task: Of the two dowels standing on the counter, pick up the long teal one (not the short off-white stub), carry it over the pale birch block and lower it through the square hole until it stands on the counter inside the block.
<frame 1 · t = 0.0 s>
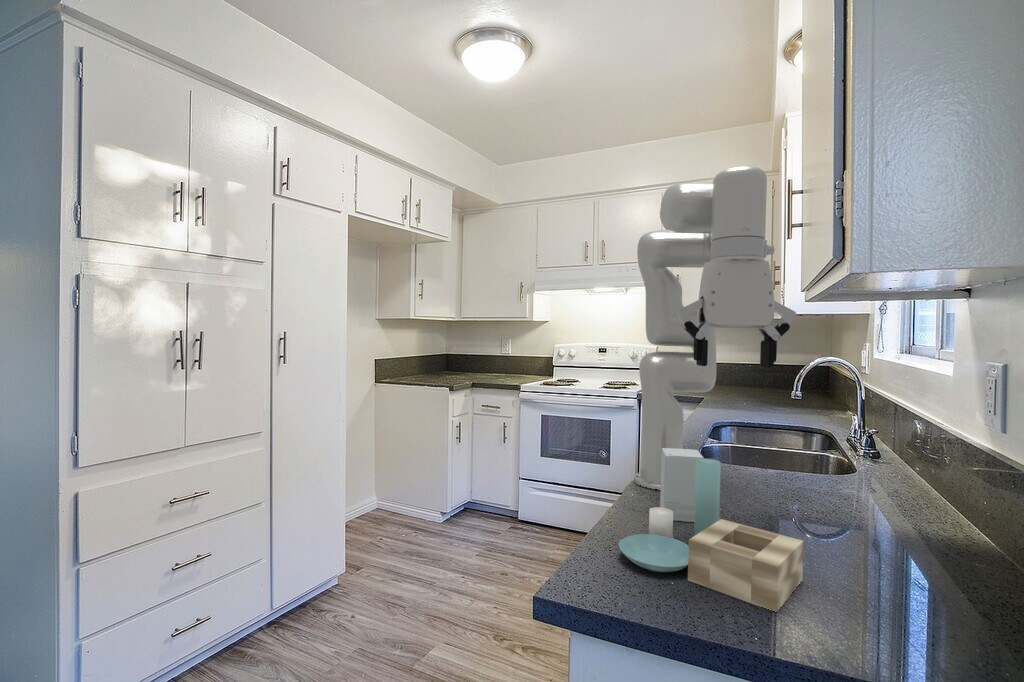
hand: (734, 366, 78), 31 cm above the countertop, tool pointing down, fingers open, 9 cm apart
short off-white stub: (660, 539, 90), on the countertop
supplement box: (680, 516, 102), on the countertop
birch hole block: (745, 580, 75), on the countertop
saucer: (656, 564, 81), on the countertop
teal dowel: (706, 541, 89), on the countertop
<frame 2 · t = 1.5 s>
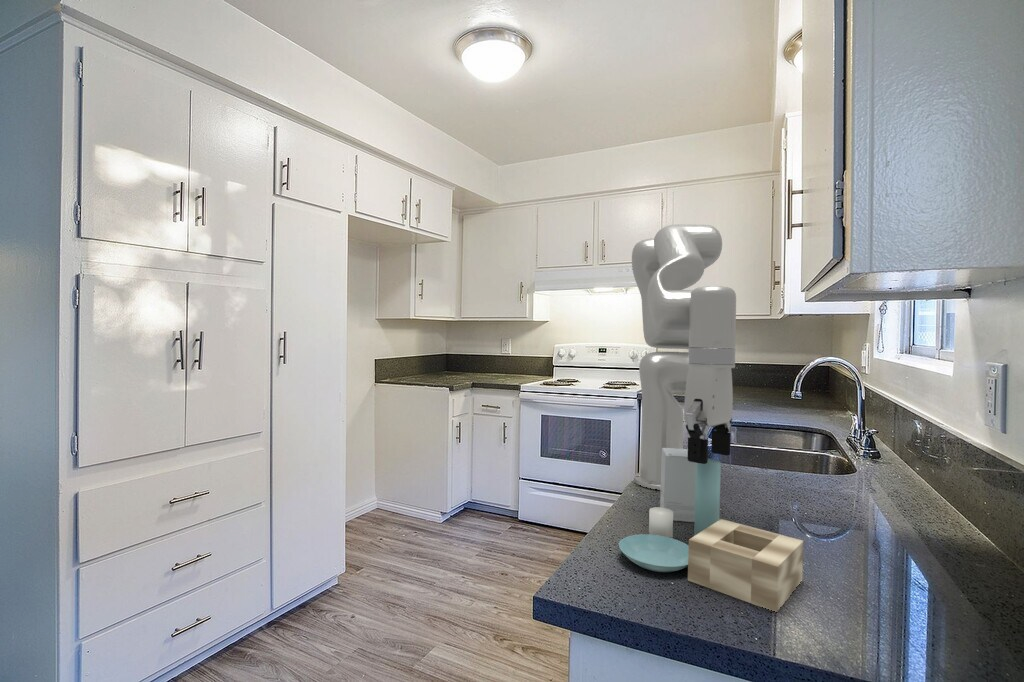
hand: (709, 458, 88), 15 cm above the countertop, tool pointing down, fingers open, 9 cm apart
nothing on the countertop moved.
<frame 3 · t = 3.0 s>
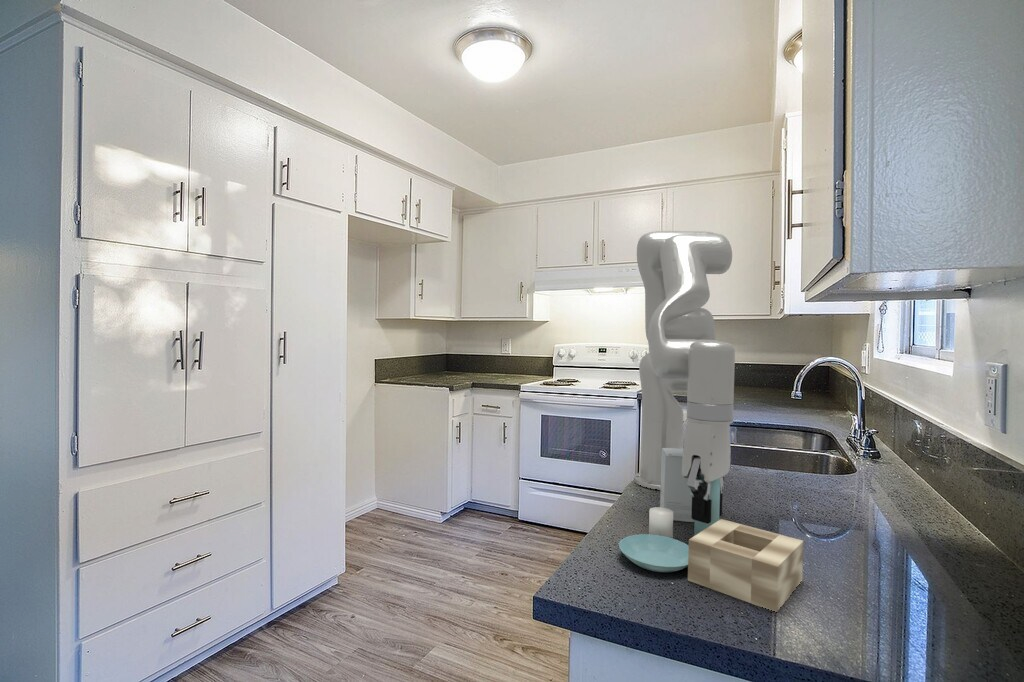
hand: (706, 516, 89), 4 cm above the countertop, tool pointing down, fingers closed on teal dowel, 4 cm apart
teal dowel: (706, 541, 89), on the countertop, touching gripper
everything else where it was.
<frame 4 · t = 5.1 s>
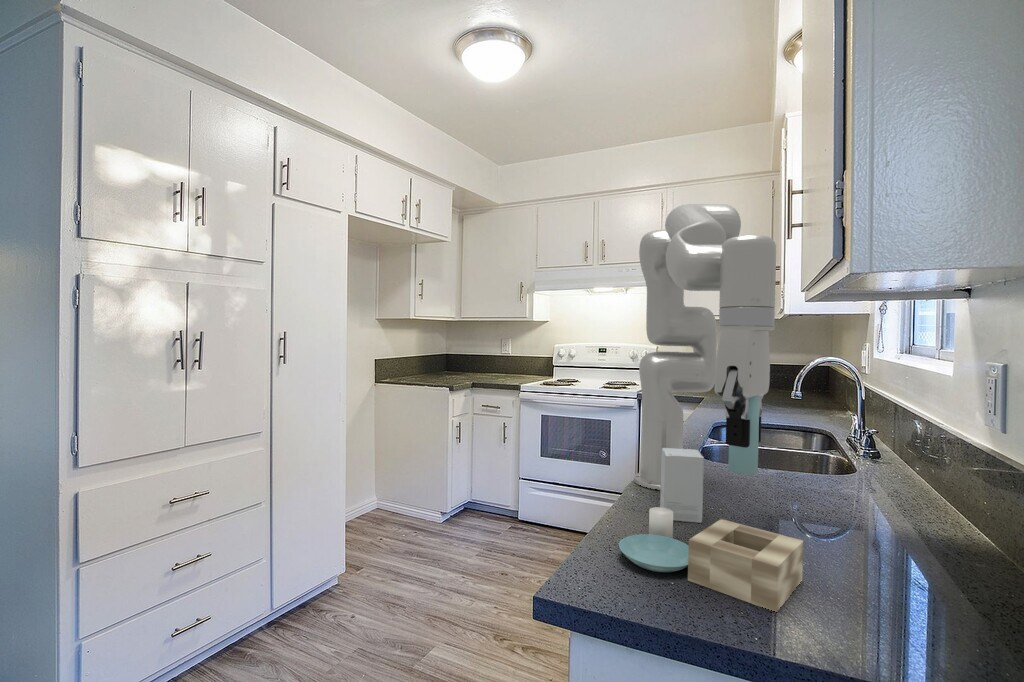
hand: (743, 442, 76), 20 cm above the countertop, tool pointing down, fingers closed on teal dowel, 4 cm apart
teal dowel: (742, 471, 77), point 16 cm above the countertop, touching gripper
everything else where it was.
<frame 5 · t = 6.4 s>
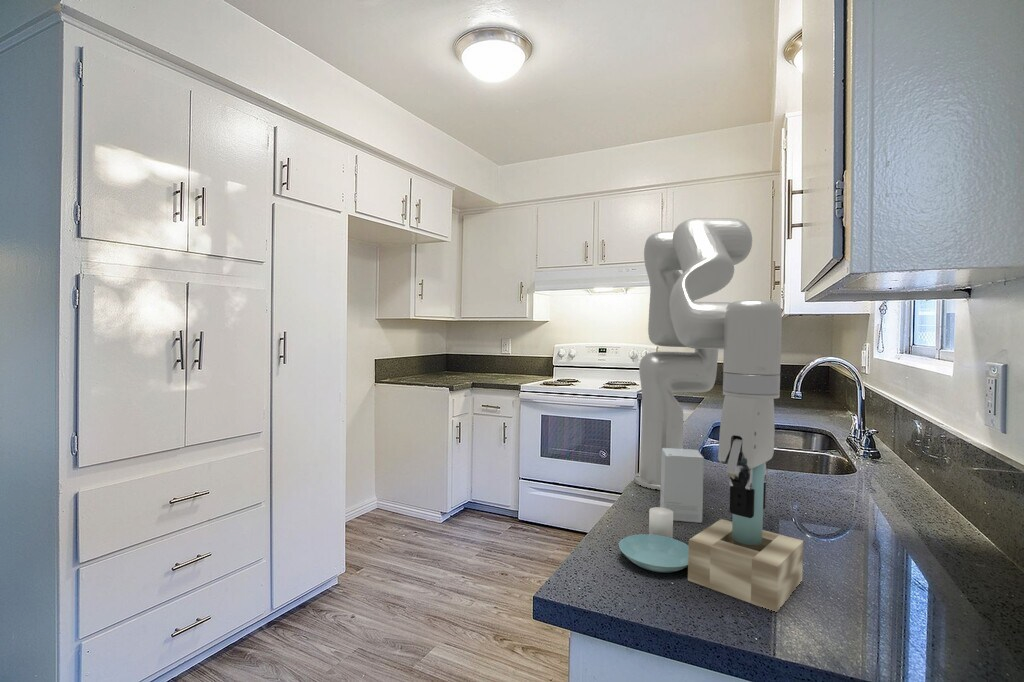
hand: (747, 510, 75), 10 cm above the countertop, tool pointing down, fingers closed on teal dowel, 4 cm apart
teal dowel: (746, 539, 75), point 6 cm above the countertop, touching gripper
everything else where it was.
when the fingers open (7 cm above the countertop, at t = 7.3 s): teal dowel drops 3 cm, resting in birch hole block.
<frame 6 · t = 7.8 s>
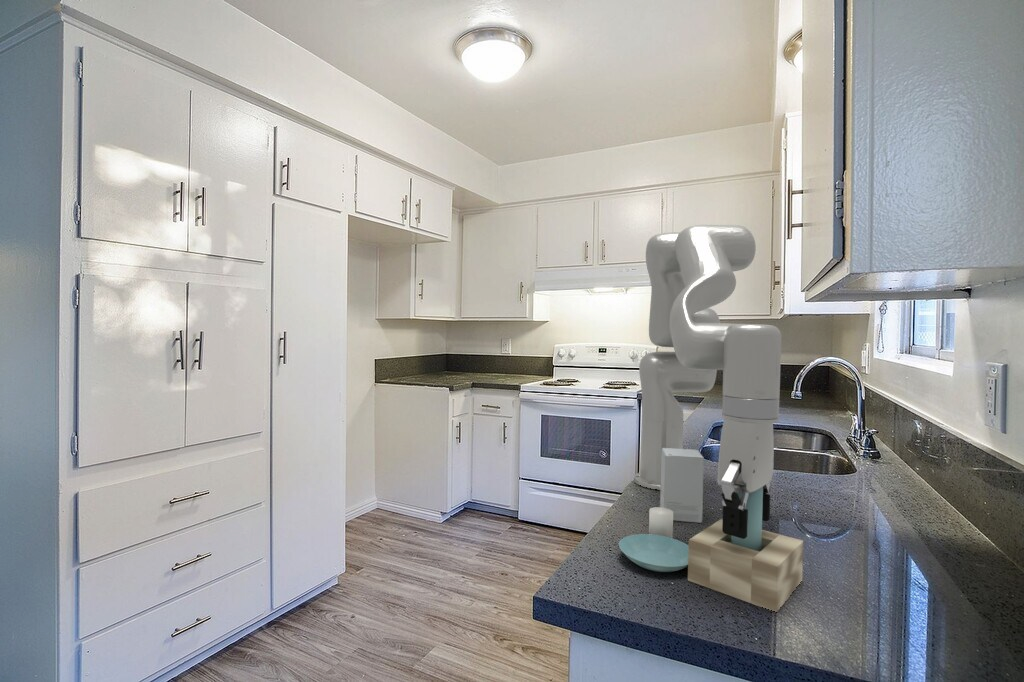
hand: (746, 526, 75), 8 cm above the countertop, tool pointing down, fingers open, 9 cm apart
teal dowel: (745, 580, 75), resting in birch hole block
everything else where it was.
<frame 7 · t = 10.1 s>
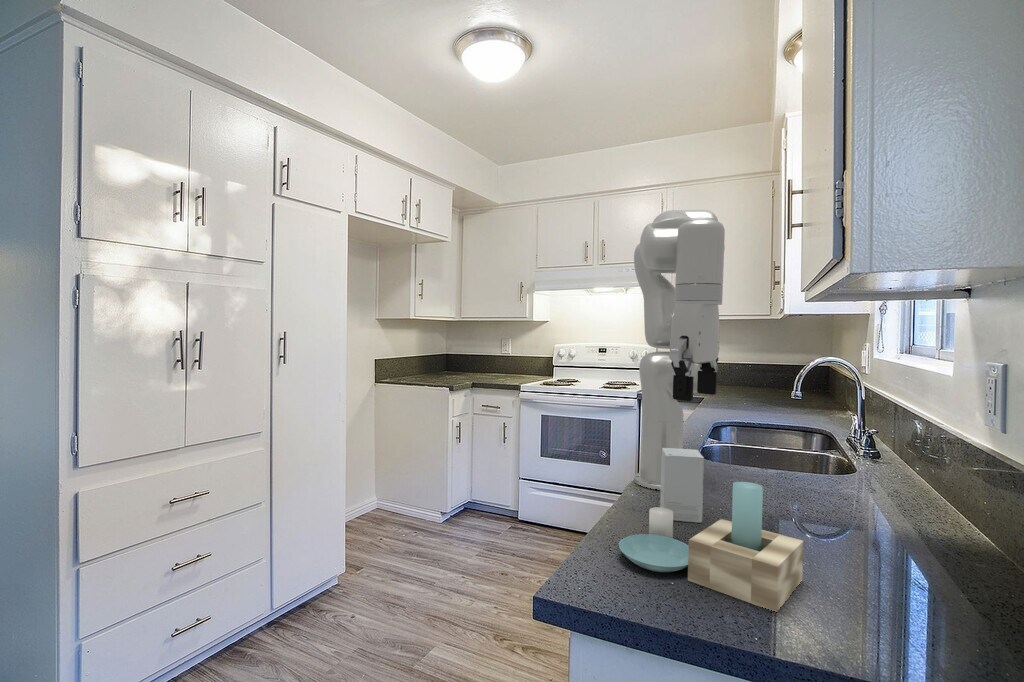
hand: (695, 396, 87), 25 cm above the countertop, tool pointing down, fingers open, 9 cm apart
nothing on the countertop moved.
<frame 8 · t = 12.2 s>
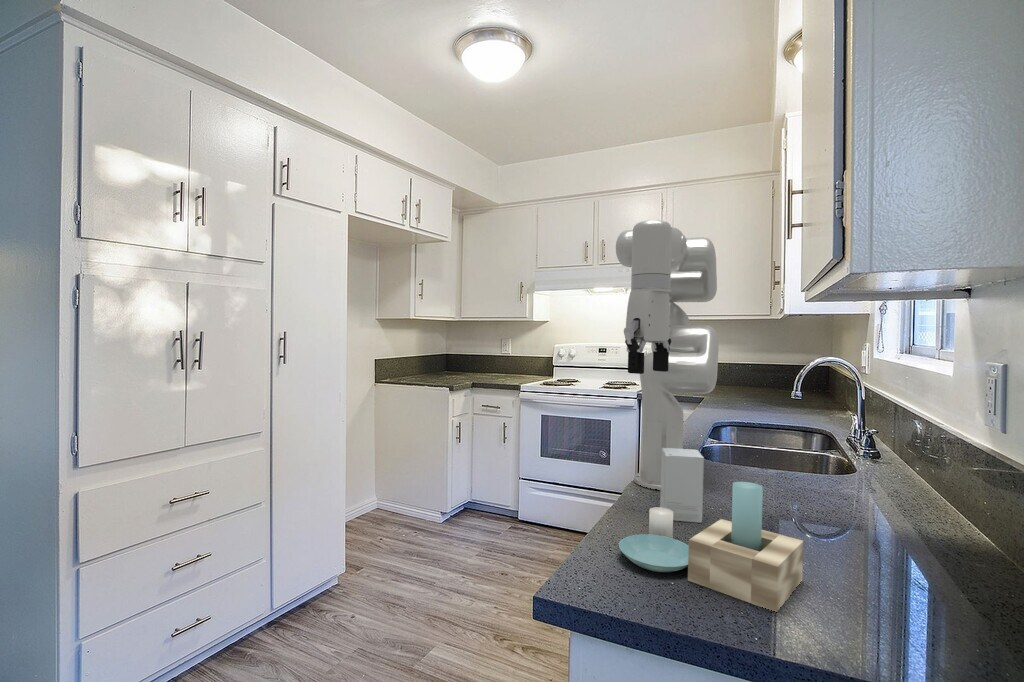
hand: (648, 372, 101), 28 cm above the countertop, tool pointing down, fingers open, 9 cm apart
nothing on the countertop moved.
at the end: teal dowel 0.1 cm off-centre on the birch hole block, point 0.0 cm above the birch hole block's base; teal dowel tilted 0°; the gripper is holding nothing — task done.
